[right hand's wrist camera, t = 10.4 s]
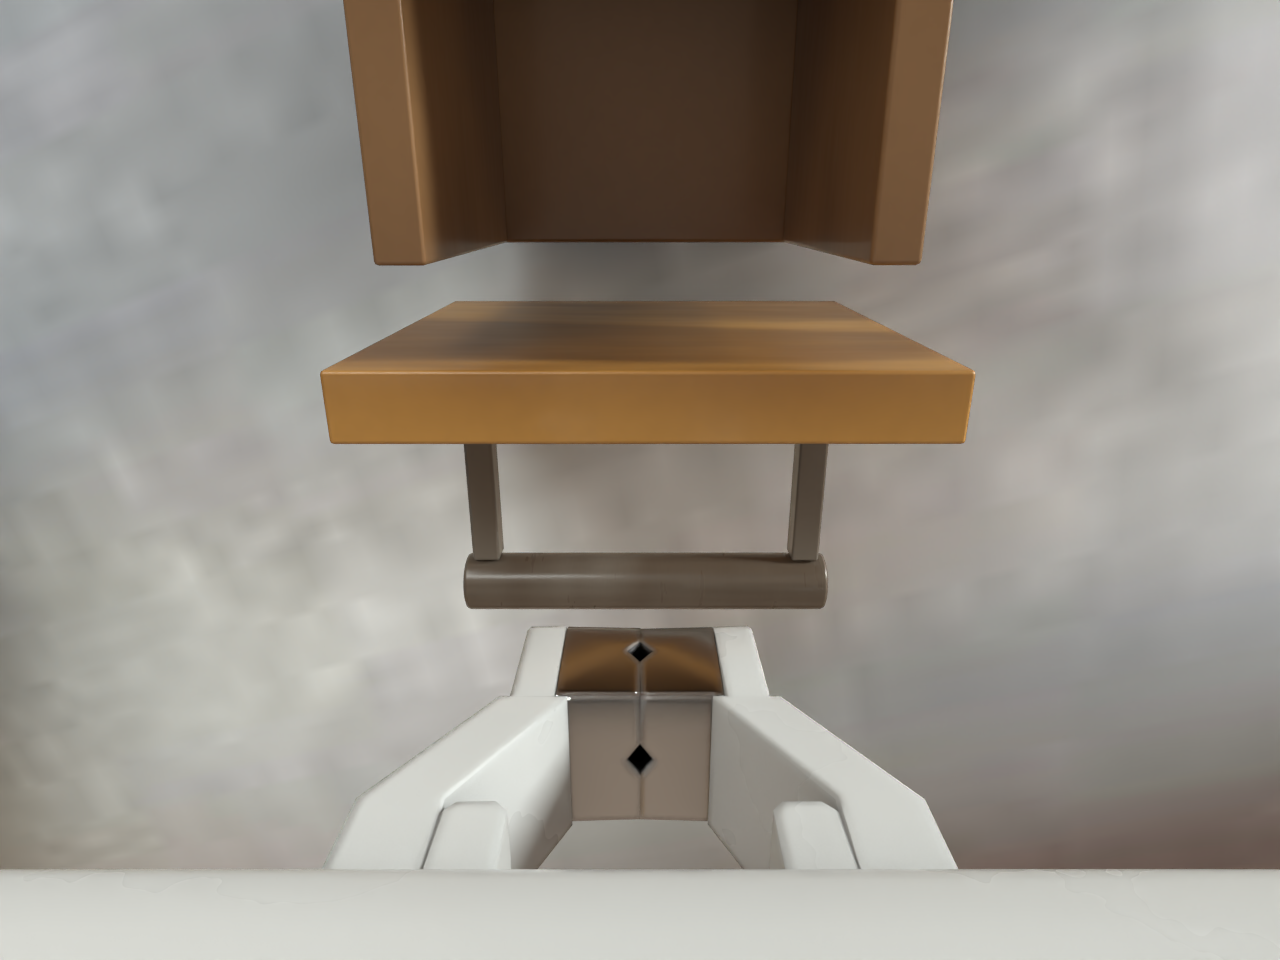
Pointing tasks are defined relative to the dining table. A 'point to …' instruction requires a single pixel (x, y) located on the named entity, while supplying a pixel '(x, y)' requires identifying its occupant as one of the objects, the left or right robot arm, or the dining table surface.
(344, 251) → the dining table surface
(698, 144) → the drawer
